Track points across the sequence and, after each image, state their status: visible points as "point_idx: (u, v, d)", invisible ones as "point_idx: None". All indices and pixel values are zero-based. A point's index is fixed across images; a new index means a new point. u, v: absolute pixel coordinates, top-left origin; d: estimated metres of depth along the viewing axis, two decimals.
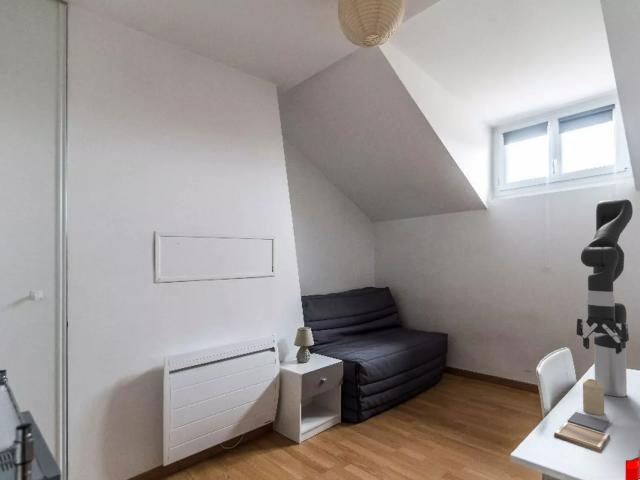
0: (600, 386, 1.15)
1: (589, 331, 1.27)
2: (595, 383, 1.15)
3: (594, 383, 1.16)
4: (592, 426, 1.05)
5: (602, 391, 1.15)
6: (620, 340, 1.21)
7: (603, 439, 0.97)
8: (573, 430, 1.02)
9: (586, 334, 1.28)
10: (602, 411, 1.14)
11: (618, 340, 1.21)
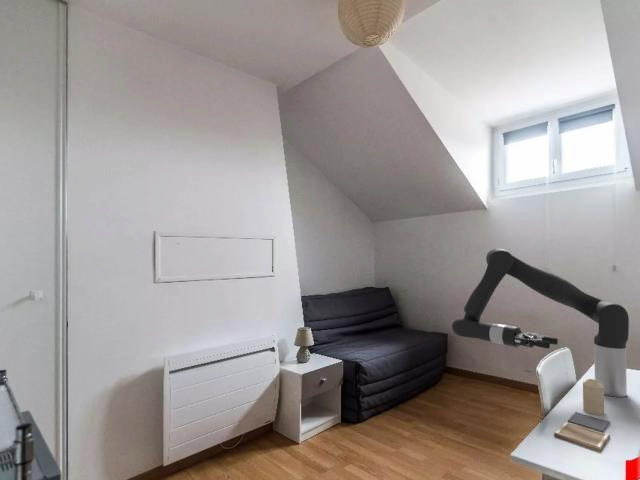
0: (600, 386, 1.15)
1: None
2: (595, 383, 1.15)
3: (594, 383, 1.16)
4: (592, 426, 1.05)
5: (602, 391, 1.15)
6: None
7: (603, 439, 0.97)
8: (573, 430, 1.02)
9: None
10: (602, 411, 1.14)
11: (534, 346, 1.26)
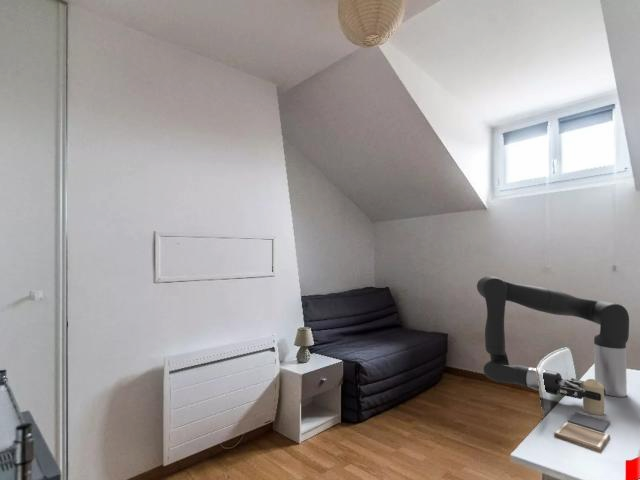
0: (600, 386, 1.15)
1: None
2: (595, 383, 1.15)
3: (594, 383, 1.16)
4: (592, 426, 1.05)
5: (602, 391, 1.15)
6: None
7: (603, 439, 0.97)
8: (573, 430, 1.02)
9: None
10: (602, 411, 1.14)
11: (582, 397, 1.16)
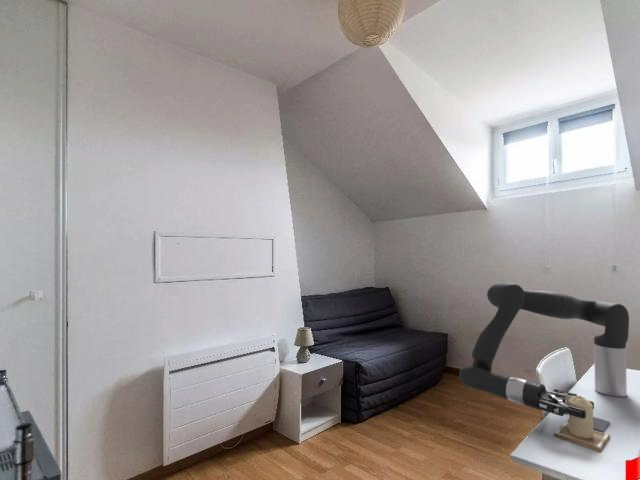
0: (588, 405, 0.98)
1: None
2: (582, 401, 0.99)
3: (581, 401, 0.99)
4: None
5: (590, 411, 0.98)
6: None
7: (603, 439, 0.97)
8: None
9: None
10: (590, 434, 0.98)
11: None
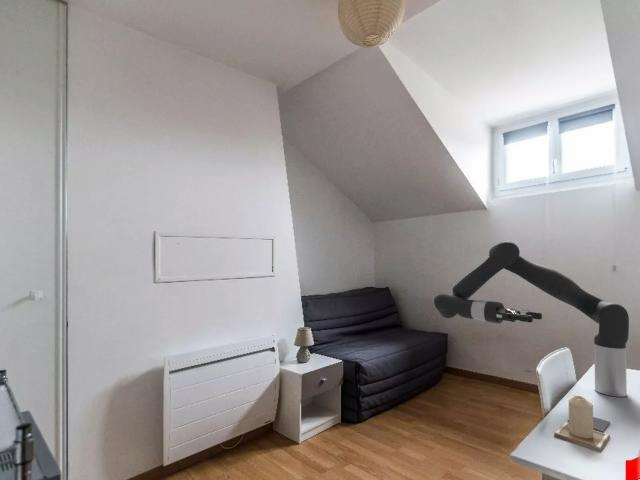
0: (588, 405, 0.98)
1: None
2: (582, 401, 0.99)
3: (581, 401, 0.99)
4: None
5: (590, 411, 0.98)
6: (515, 320, 1.18)
7: (603, 439, 0.97)
8: None
9: None
10: (590, 434, 0.98)
11: (516, 321, 1.19)
